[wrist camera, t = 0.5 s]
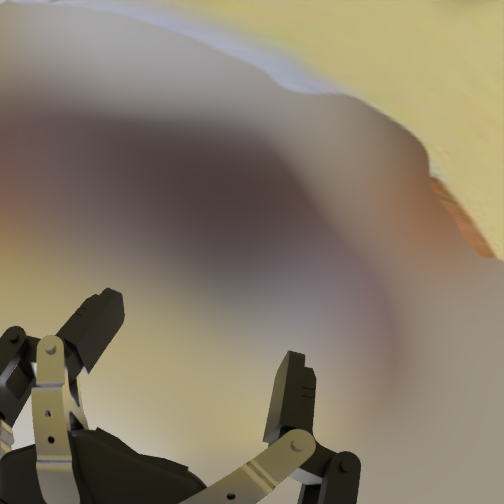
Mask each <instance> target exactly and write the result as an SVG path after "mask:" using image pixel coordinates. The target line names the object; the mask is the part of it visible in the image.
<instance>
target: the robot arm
mask: <svg viewBox="0 0 504 504" xmlns="http://www.w3.org/2000/svg"><path fill="white" fill-rule="evenodd" d="M124 316H125V313H124V306H123V298H122V294H121V293H120V292H117V291H115V290H112V289H110V288H106V289H105V290H104V291H103V292H102V293H101V294H100V295H97V294H95V295H93V296H91V297H90V298H87V299H86V300H85V301H84V302H83V304H82V305H81V306H80V308H78V309H77V311H76V312H75V313H74V314H73V315H72V316H71V317H70V319H69V320H68V321H67V322H66V323H65V324H64V326H63V327H62V328H61V329H60V330H59V332H58V333H57V334H56V335H49V336H45V337H44V338H42V339H39V338H35V337H30V336H27V335H26V333H25V331H24V329H23V328H21V327H19V326H13V327H10V328H8V329H7V330H6V331H5V333H4V334H3V335H2V336H1V338H0V504H256V503H257V502H258V501H260V500H261V499H262V498H264V497H265V496H267V495H268V494H269V493H270V492H271V491H273V490H274V488H275V487H276V486H277V485H278V484H279V483H281V482H282V481H283V480H284V479H285V478H287V477H288V476H289V477H291V478H293V479H295V480H297V481H299V482H301V483H302V486H301V491H300V495H299V499H298V503H297V504H356V503H357V496H358V488H359V480H360V471H361V463H360V460H359V458H358V457H357V456H356V455H355V454H353V453H351V452H347V451H344V452H340V453H336V452H334V451H331V450H329V449H327V448H325V447H323V446H321V445H320V444H319V443H318V442H317V441H316V440H315V438H314V436H313V431H312V427H313V417H314V404H315V390H316V376H315V374H314V371H313V369H312V368H308V367H304V365H305V355H304V354H301V353H297V352H293V351H288V352H287V354H286V356H285V357H284V359H283V361H282V363H281V365H280V367H279V369H278V371H277V374H276V377H275V382H274V387H273V392H272V397H271V403H270V408H269V413H268V418H267V423H266V428H265V432H264V437H263V442H267V443H269V445H268V448H267V449H266V450H264V451H263V452H262V453H260V454H259V455H258V456H256V457H255V458H253V459H252V460H251V461H249V462H247V463H245V464H244V465H242V466H241V467H239V468H238V469H236V470H235V471H233V472H232V473H230V474H229V475H227V476H226V477H224V478H222V479H221V480H219V481H218V482H216V483H214V484H213V485H211V486H209V487H208V488H207V486H206V485H205V484H204V483H203V481H202V480H200V479H199V478H198V477H197V476H196V475H195V474H193V473H192V472H190V471H188V467H187V466H184V465H181V464H179V463H176V462H173V461H170V460H167V459H165V458H159V457H153V456H147V455H142V454H138V453H137V452H135V451H134V450H133V449H131V448H130V447H129V446H127V445H126V444H125V443H124V442H122V441H121V440H120V439H119V438H117V437H115V436H113V435H111V434H110V433H108V432H106V431H104V430H102V429H100V428H98V427H97V429H96V430H89V428H88V424H87V420H86V417H85V415H84V412H83V408H82V401H81V393H80V385H79V377H78V375H79V373H80V372H81V371H83V372H85V373H87V374H89V373H90V371H91V370H92V368H93V367H94V365H95V364H96V362H97V361H98V358H99V357H100V356H101V355H102V353H103V352H104V350H105V349H106V347H107V346H108V344H109V343H110V342H111V340H112V339H113V337H114V336H115V334H116V333H117V332H118V330H119V329H120V327H121V326H122V324H123V321H124ZM16 365H17V366H16ZM15 366H16V367H15ZM14 368H15V369H14ZM13 369H14V370H13ZM12 371H13V372H12ZM11 372H12V373H11ZM10 374H11V375H10ZM9 375H10V376H9ZM8 377H9V378H8ZM7 379H8V380H7ZM30 394H31V397H32V416H33V428H34V437H35V444H33V445H30V446H26V447H23V448H19V449H16V450H12V449H11V445H12V444H13V443H14V438H13V432H12V427H13V425H14V423H15V421H16V419H17V417H18V416H19V414H20V412H21V410H22V408H23V406H24V405H25V403H26V401H27V399H28V398H29V396H30Z"/></svg>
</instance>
